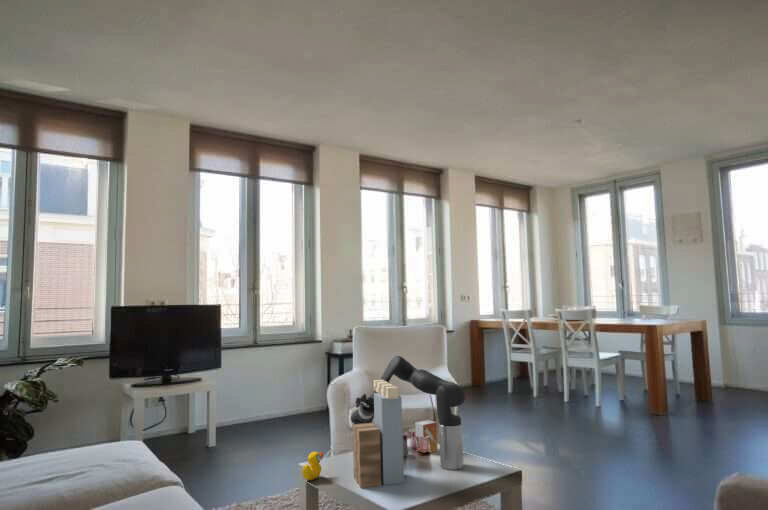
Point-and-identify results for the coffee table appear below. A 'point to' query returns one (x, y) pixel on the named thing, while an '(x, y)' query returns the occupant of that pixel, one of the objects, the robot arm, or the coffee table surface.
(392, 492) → the coffee table surface
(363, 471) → the brown wooden block
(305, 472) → the duckling
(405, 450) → the mineral specimen
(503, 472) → the coffee table surface
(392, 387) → the beam
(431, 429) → the small box
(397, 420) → the tall tower
